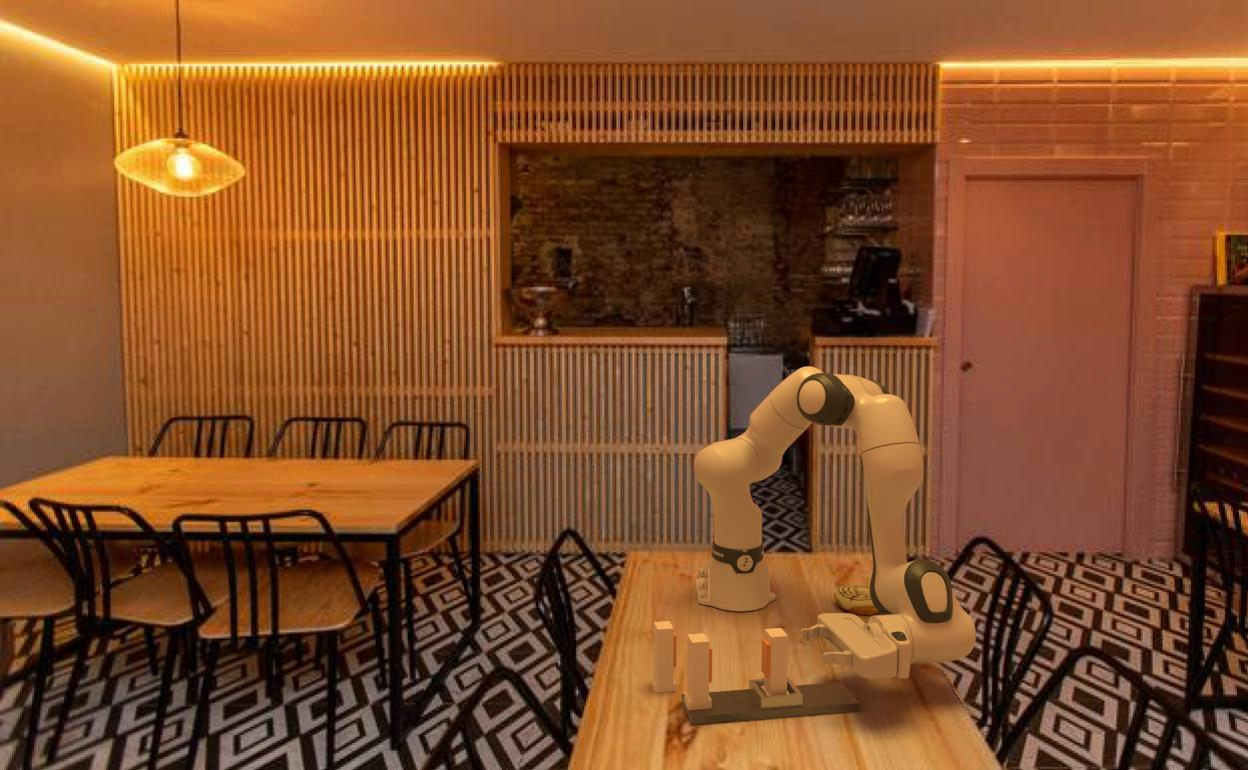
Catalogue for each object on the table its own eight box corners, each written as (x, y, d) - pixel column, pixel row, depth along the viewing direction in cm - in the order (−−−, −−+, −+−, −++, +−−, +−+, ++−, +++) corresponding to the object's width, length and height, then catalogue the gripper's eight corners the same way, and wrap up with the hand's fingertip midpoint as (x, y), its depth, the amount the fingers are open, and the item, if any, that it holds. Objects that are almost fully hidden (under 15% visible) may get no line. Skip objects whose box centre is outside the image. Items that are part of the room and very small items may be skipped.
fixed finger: (684, 700, 146) (684, 634, 145) (706, 698, 147) (707, 633, 145) (688, 710, 143) (689, 642, 141) (712, 708, 143) (712, 641, 142)
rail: (681, 702, 148) (681, 683, 148) (840, 689, 153) (841, 671, 153) (691, 725, 141) (692, 705, 140) (859, 711, 145) (860, 692, 145)
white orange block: (651, 684, 155) (651, 622, 154) (672, 682, 156) (672, 620, 155) (654, 693, 152) (654, 629, 151) (676, 691, 153) (676, 628, 151)
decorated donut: (842, 618, 188) (843, 600, 187) (827, 599, 199) (828, 582, 199) (892, 616, 188) (893, 599, 188) (874, 597, 200) (875, 581, 199)
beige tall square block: (760, 694, 148) (761, 629, 147) (782, 692, 149) (783, 627, 148) (766, 703, 145) (768, 637, 144) (789, 701, 145) (790, 635, 144)
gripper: (861, 602, 159) (791, 606, 157) (914, 646, 139) (835, 652, 137) (860, 634, 159) (790, 639, 157) (912, 683, 139) (834, 689, 137)
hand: (811, 645), depth 147 cm, fingers open, 8 cm apart
